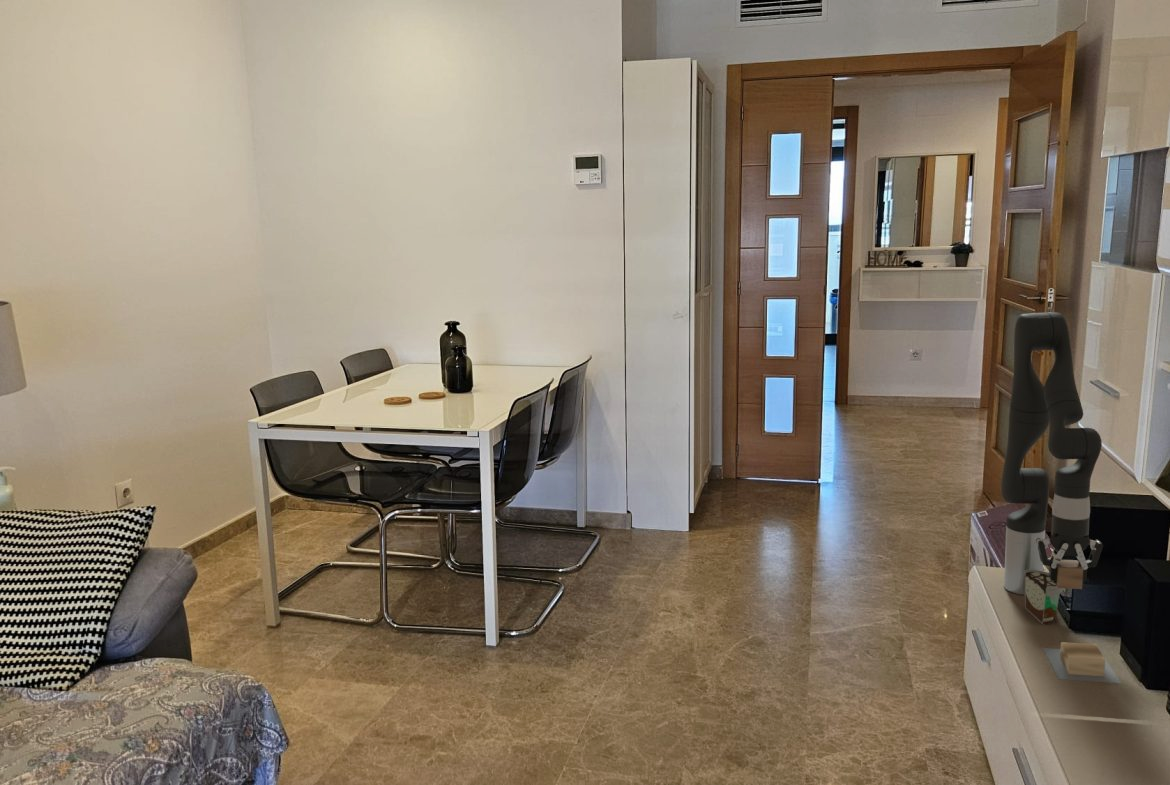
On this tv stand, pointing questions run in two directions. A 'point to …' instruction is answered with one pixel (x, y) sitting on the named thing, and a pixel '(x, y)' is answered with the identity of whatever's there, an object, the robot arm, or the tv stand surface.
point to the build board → (1063, 674)
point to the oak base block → (1082, 659)
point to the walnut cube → (1069, 574)
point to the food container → (1041, 596)
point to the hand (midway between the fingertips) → (1067, 582)
